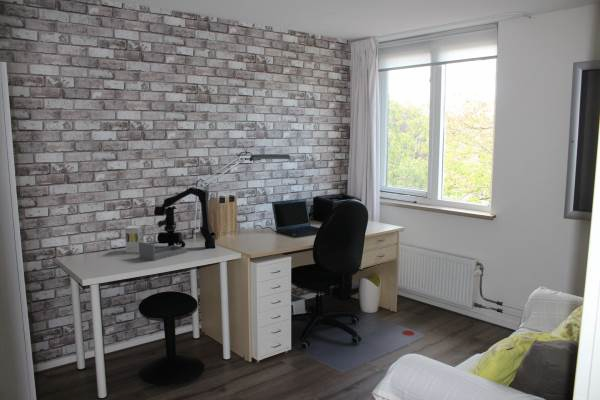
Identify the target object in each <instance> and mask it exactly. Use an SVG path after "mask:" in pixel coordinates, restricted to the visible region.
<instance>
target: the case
mask: <svg viewBox="0 0 600 400" xmlns="http://www.w3.org/2000/svg"><path fill="white" fill-rule="evenodd" d="M167 246H168V245H167ZM167 246H164V247H159V248H155V247H156V246H155V244H154V243H149V242H148V243H147V242H144V243H143V242H139V258H140V259H143V260H150V261H153V262H154V261H155V262H156V261H158V260H162V259H167V258H170V257H174V256H178V255H181V254H186V253H188V247H185V246H184V247H180V245H175V246H174V245H172V246H168V247H167Z"/></svg>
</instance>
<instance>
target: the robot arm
mask: <svg viewBox="0 0 600 400" xmlns="http://www.w3.org/2000/svg"><path fill="white" fill-rule="evenodd" d="M191 194H192V195H193V196H196V197H197V198H198V200H199V203H200V206H201V217H202V218H201V219H202V226H200V234H201V235H202V237H203V240H204V248H205V249H216V236H217V234H216V233H215V232H214V231H213V228H212V225H211V223H210V213H209V205H208V203H209V198H210V192H209V191H208V190H207V189H200V188H197V187H194V186H192V187H189V188H188V189H186V190H184V191H182V192H180V193H178V194H176V195H174V196H170V197H167V198H165V199H164V200H163V204H162V205H155V207H154V209H153V214H154V216H156V217H161V216H162V217H165V218H164V219H162V220H159V221H158V222H157V225H158V228H162V227H163V226H164V231H165V232H167V233H168V236H169V239H172V235H173V232H176V231H175V230H176V227H177V222H176V221H175V210H177V209H178V208H177V207H176V206H175V204H177V203H178V202H179V201H180V200H182V199H183V198H185V197H187V196H189V195H191Z"/></svg>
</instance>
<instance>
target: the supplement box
mask: <svg viewBox="0 0 600 400" xmlns="http://www.w3.org/2000/svg"><path fill="white" fill-rule="evenodd" d="M124 235H125V236H124V239H125V253H126V254H128V253H130V254H131V253H135V254H137V253H139V242H143V243H145V242H144V226H143V225H128V226H126V227H124Z"/></svg>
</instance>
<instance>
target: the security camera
mask: <svg viewBox="0 0 600 400" xmlns="http://www.w3.org/2000/svg"><path fill="white" fill-rule="evenodd" d="M182 235H183V234H182V233H181V231H179V232H178V231H174V232H173V235H172V239H169V236H168V233H167V232H166V231H165V232H158V235H157V239H156V240H157V242H158V244H167V246H166V247H168V246H172V245H174V246H179V247H185V246H186V242H185V241H184V240H183V239H182V238H183V237H182Z"/></svg>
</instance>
